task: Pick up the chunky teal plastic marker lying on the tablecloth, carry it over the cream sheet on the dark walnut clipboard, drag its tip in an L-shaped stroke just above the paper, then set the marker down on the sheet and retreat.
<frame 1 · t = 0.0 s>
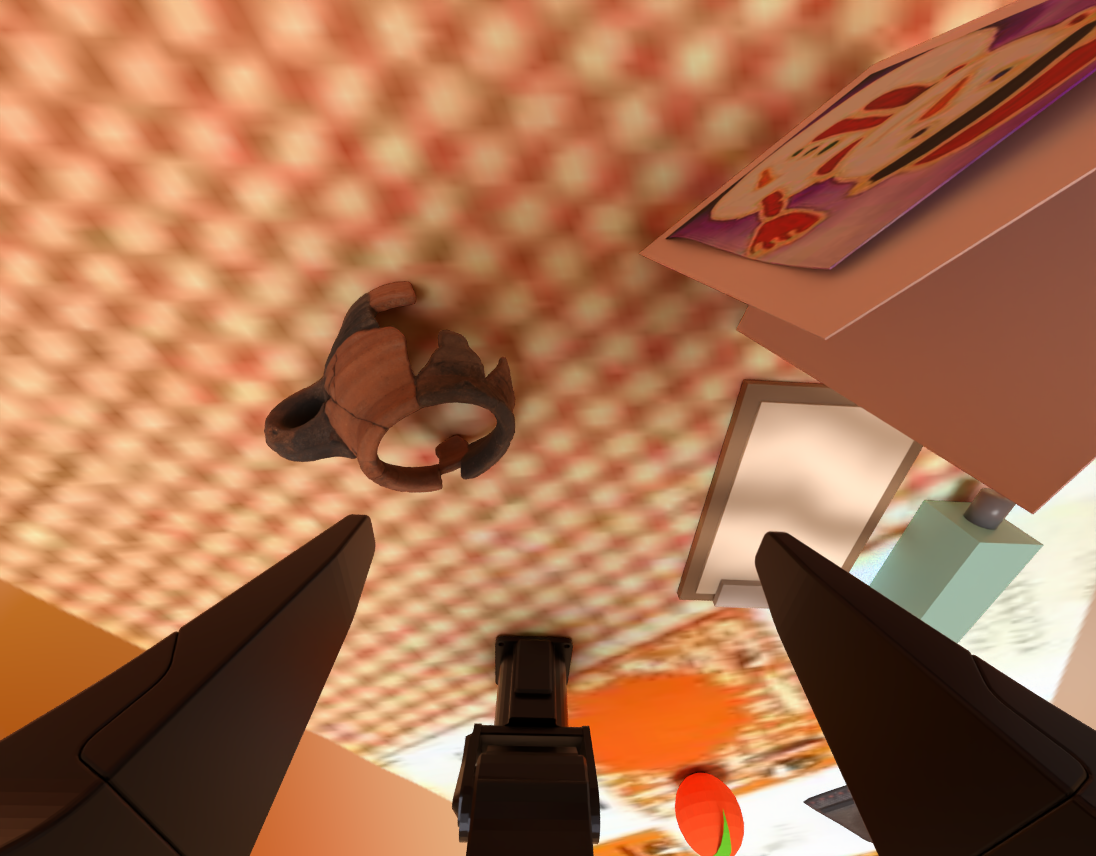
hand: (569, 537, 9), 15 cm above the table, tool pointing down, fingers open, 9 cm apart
pottery mug: (413, 374, 23), on the table
wallet: (887, 797, 52), on the table
clipboard: (791, 506, 28), on the table
clementine: (698, 770, 46), on the table
marker: (909, 563, 30), on the table
greeting card: (769, 222, 19), on the table
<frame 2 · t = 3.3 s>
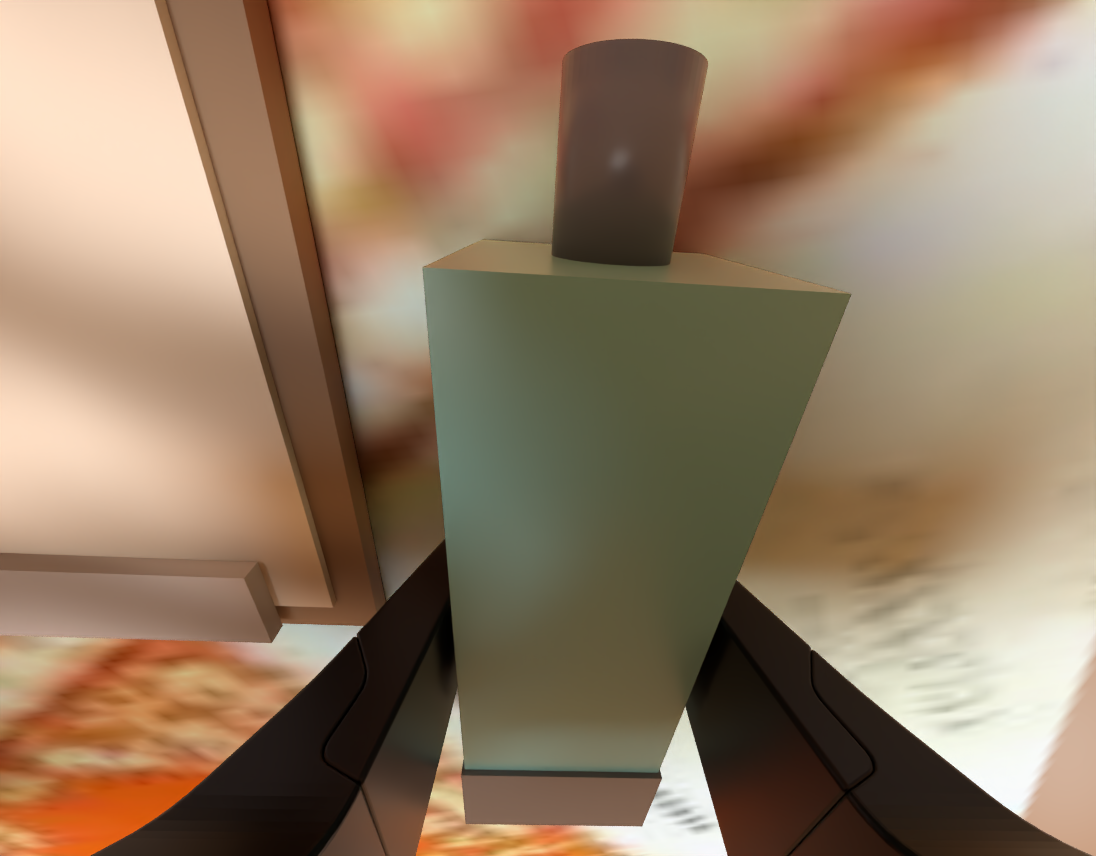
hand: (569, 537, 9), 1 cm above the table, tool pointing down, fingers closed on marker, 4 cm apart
marker: (566, 507, 10), on the table, touching gripper
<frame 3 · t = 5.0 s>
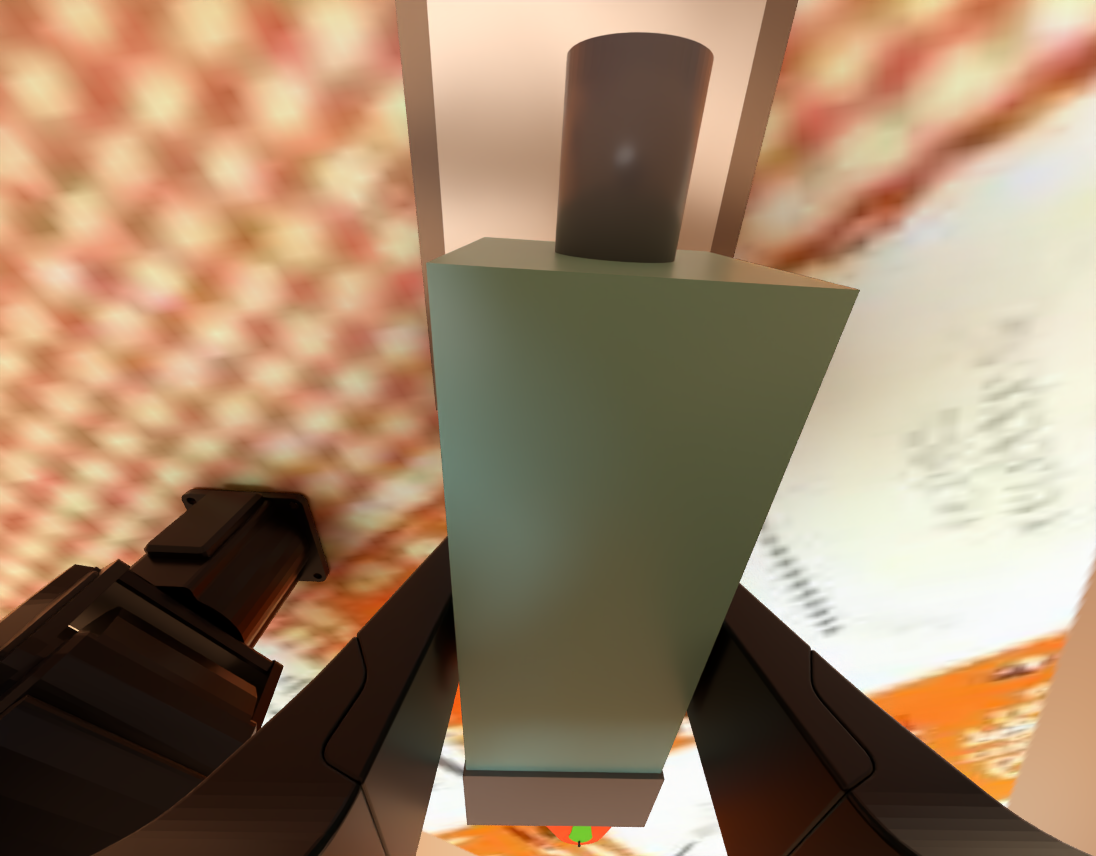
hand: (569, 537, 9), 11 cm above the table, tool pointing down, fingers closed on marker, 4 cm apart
clipboard: (580, 194, 15), on the table
clementine: (575, 724, 34), on the table
marker: (568, 507, 10), point 10 cm above the table, touching gripper
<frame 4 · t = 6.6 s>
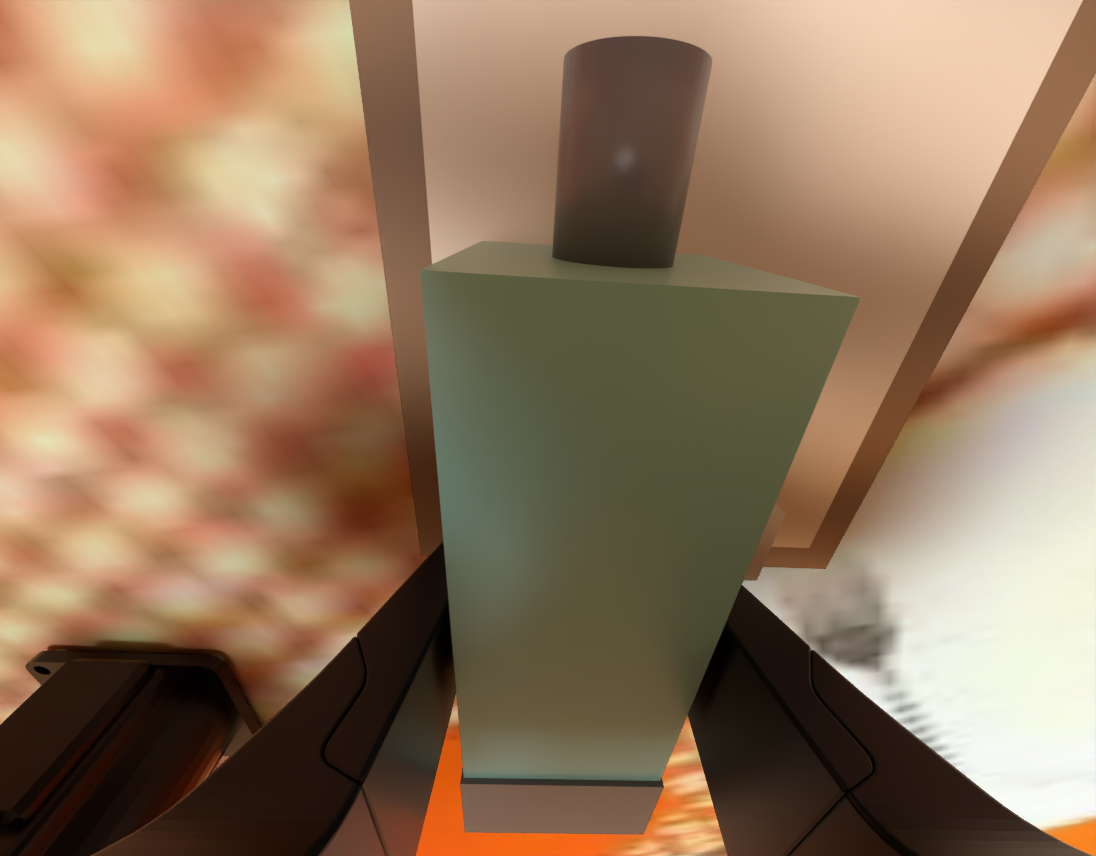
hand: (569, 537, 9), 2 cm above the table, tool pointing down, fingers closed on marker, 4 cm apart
clipboard: (689, 216, 8), on the table
marker: (567, 511, 10), point 1 cm above the table, touching gripper
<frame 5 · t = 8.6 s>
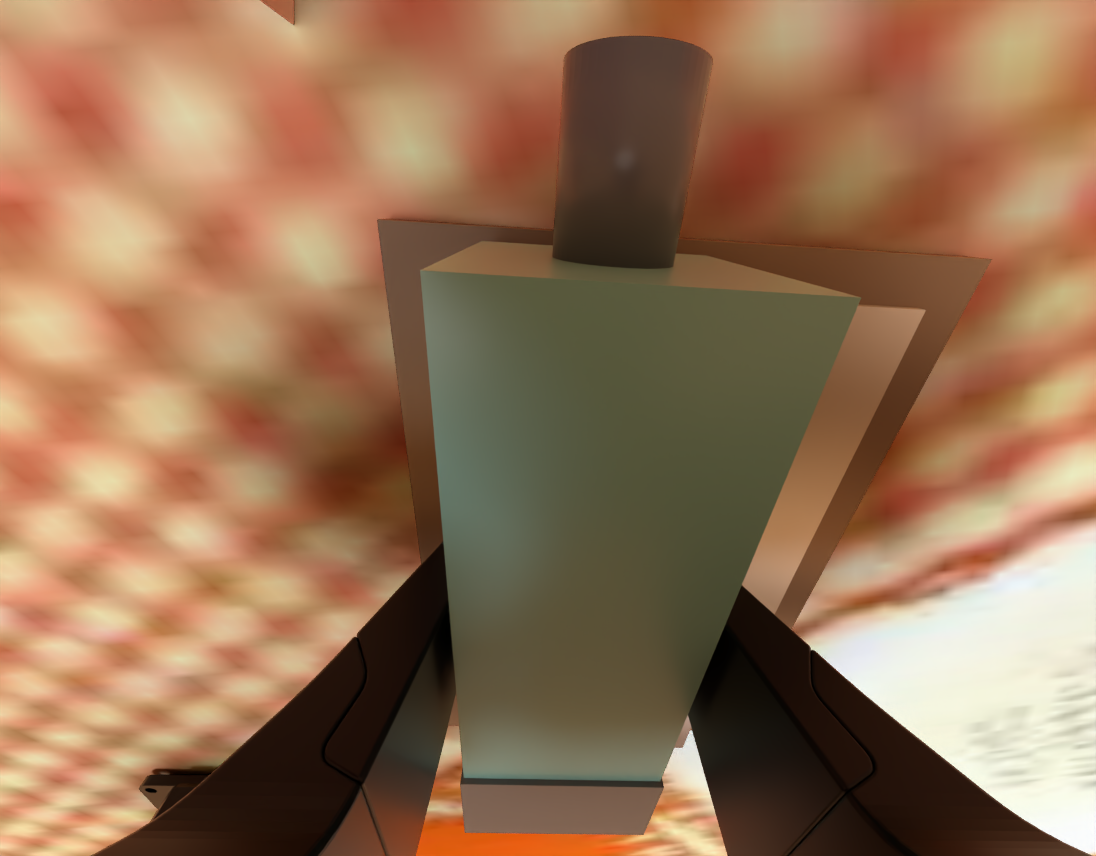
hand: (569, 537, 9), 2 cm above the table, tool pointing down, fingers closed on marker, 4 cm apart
clipboard: (620, 555, 13), on the table
marker: (567, 511, 10), point 1 cm above the table, touching gripper
when the fingers open (2 cm above the table, at t = 10.2 s): marker stays where it is, resting on clipboard.
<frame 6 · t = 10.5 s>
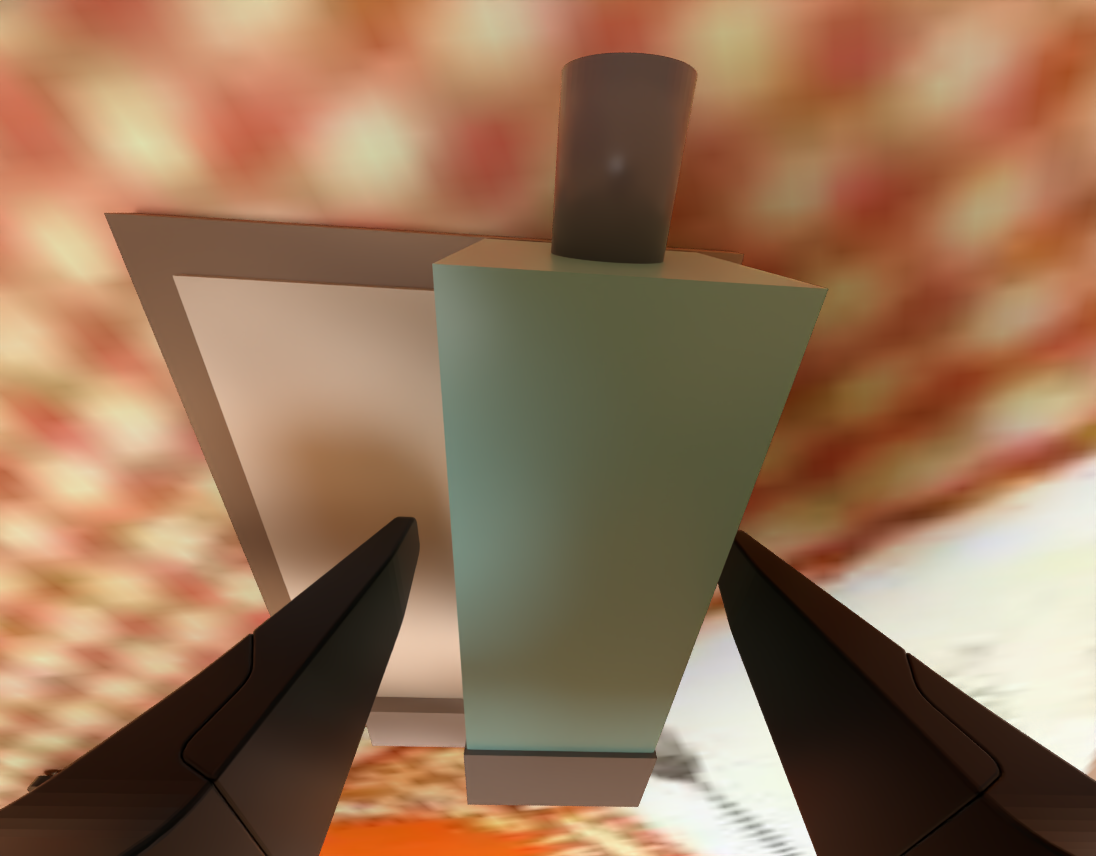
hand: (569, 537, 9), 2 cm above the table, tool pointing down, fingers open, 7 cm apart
clipboard: (460, 555, 12), on the table
marker: (565, 499, 10), point 1 cm above the table, touching clipboard
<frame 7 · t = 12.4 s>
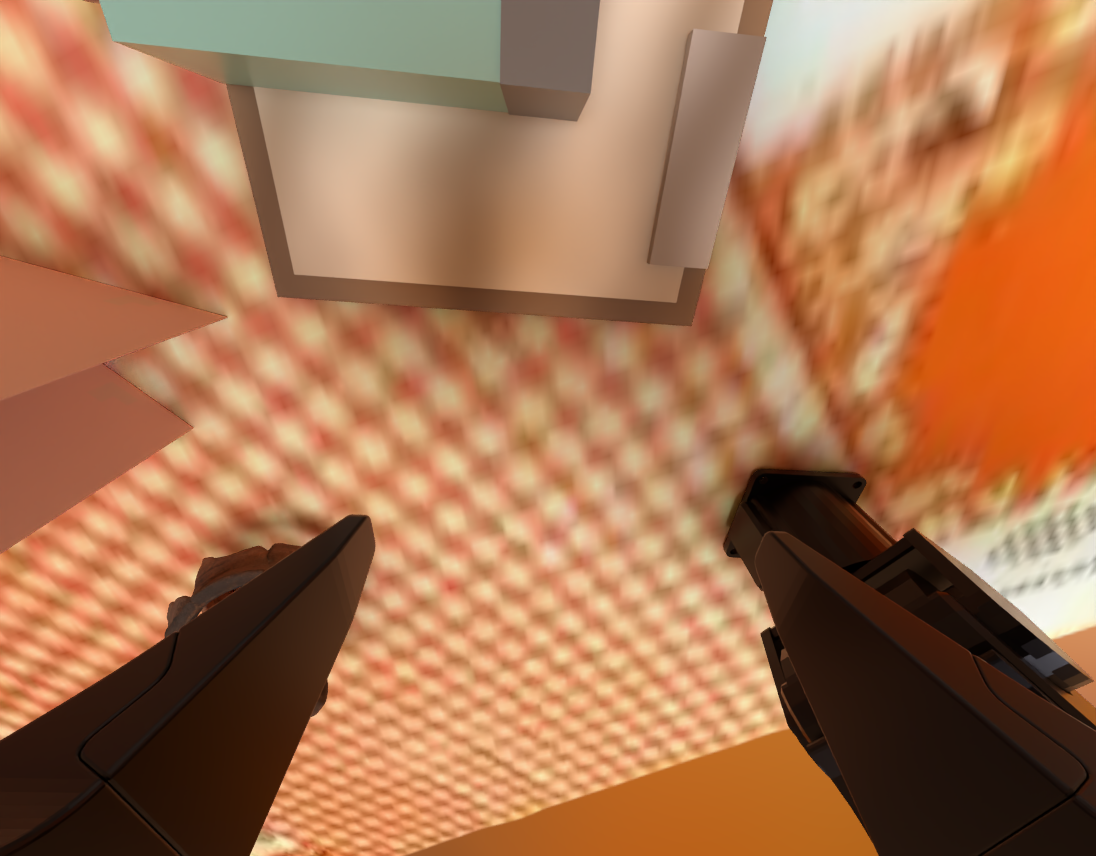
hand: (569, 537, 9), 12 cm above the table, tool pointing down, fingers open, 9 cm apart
pottery mug: (303, 584, 27), on the table
clipboard: (493, 147, 15), on the table
marker: (398, 23, 13), point 1 cm above the table, touching clipboard
greeting card: (106, 303, 18), on the table
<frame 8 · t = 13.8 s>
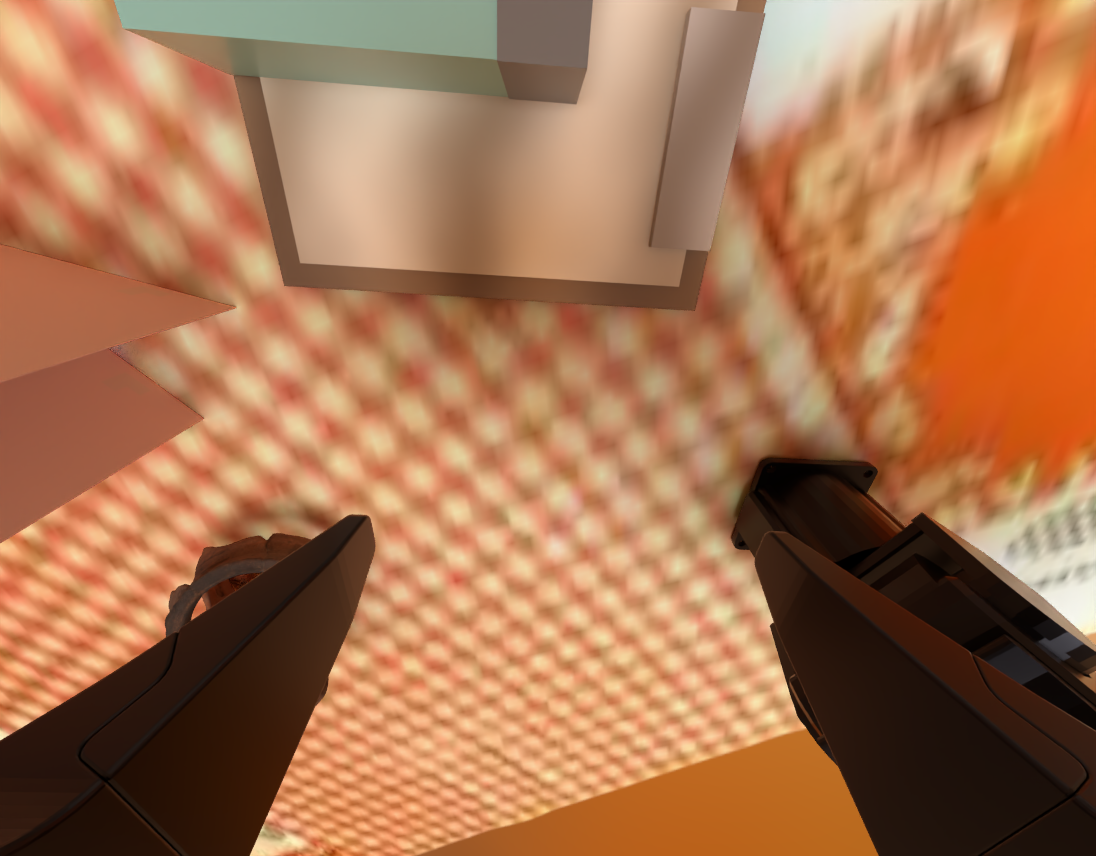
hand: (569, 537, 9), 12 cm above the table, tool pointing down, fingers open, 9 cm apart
pottery mug: (304, 576, 27), on the table
clipboard: (494, 133, 15), on the table
marker: (399, 10, 13), point 1 cm above the table, touching clipboard
greeting card: (120, 294, 18), on the table
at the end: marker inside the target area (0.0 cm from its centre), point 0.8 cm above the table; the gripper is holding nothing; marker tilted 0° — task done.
